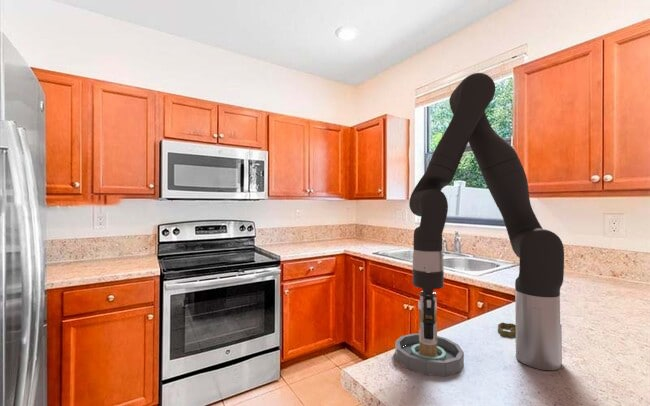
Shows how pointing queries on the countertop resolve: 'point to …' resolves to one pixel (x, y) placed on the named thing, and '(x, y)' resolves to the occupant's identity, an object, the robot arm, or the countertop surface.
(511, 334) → the cookie cutter
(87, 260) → the countertop surface
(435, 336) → the sprinkles bottle
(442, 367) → the grey ring dish
